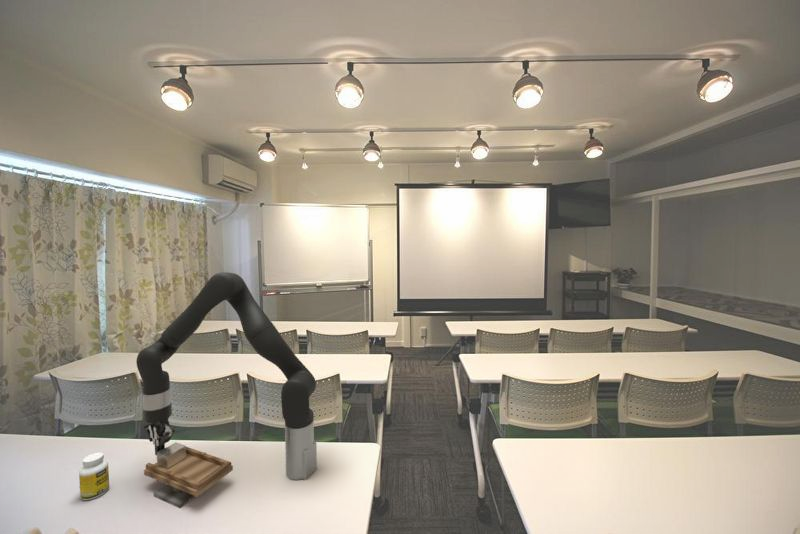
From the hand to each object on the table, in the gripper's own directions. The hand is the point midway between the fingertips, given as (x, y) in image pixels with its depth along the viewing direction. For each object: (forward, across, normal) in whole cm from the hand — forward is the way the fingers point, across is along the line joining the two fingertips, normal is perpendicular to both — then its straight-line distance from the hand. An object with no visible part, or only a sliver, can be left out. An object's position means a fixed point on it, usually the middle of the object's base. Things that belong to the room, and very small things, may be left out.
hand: (160, 454), depth 108 cm
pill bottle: (+7, +10, +13) cm, 18 cm away
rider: (+1, -6, 0) cm, 6 cm away
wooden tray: (+7, -14, 0) cm, 16 cm away
